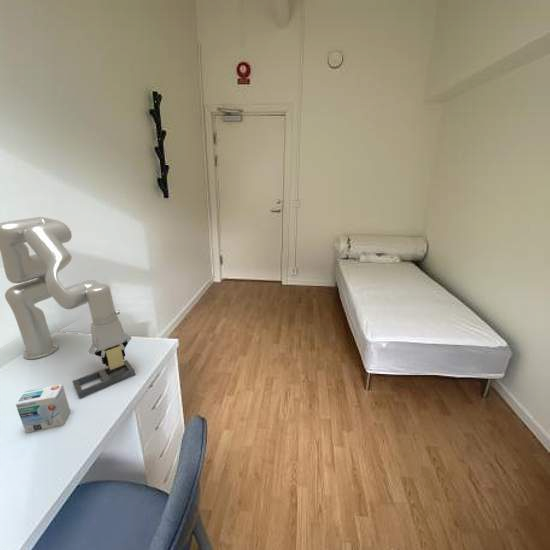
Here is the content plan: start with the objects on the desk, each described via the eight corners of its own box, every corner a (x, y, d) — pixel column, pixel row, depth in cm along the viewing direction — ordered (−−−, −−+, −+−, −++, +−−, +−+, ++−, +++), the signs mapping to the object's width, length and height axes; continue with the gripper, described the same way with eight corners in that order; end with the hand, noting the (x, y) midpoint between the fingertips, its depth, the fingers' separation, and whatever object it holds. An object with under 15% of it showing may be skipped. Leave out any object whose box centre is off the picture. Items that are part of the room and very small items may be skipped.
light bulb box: (25, 433, 97) (14, 404, 93) (34, 417, 103) (24, 390, 99) (64, 425, 99) (55, 397, 96) (71, 410, 105) (63, 383, 102)
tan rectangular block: (106, 364, 121) (101, 346, 118) (120, 359, 124) (116, 341, 121) (110, 370, 117) (105, 351, 115) (124, 364, 120) (120, 346, 118)
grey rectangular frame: (74, 386, 117) (72, 381, 116) (127, 365, 129) (126, 359, 128) (79, 399, 110) (77, 393, 110) (135, 375, 122) (134, 369, 121)
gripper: (125, 307, 122) (134, 349, 128) (75, 322, 112) (87, 366, 118) (132, 313, 117) (141, 356, 123) (80, 330, 106) (92, 375, 112)
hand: (114, 361), depth 120 cm, fingers closed on tan rectangular block, 5 cm apart
